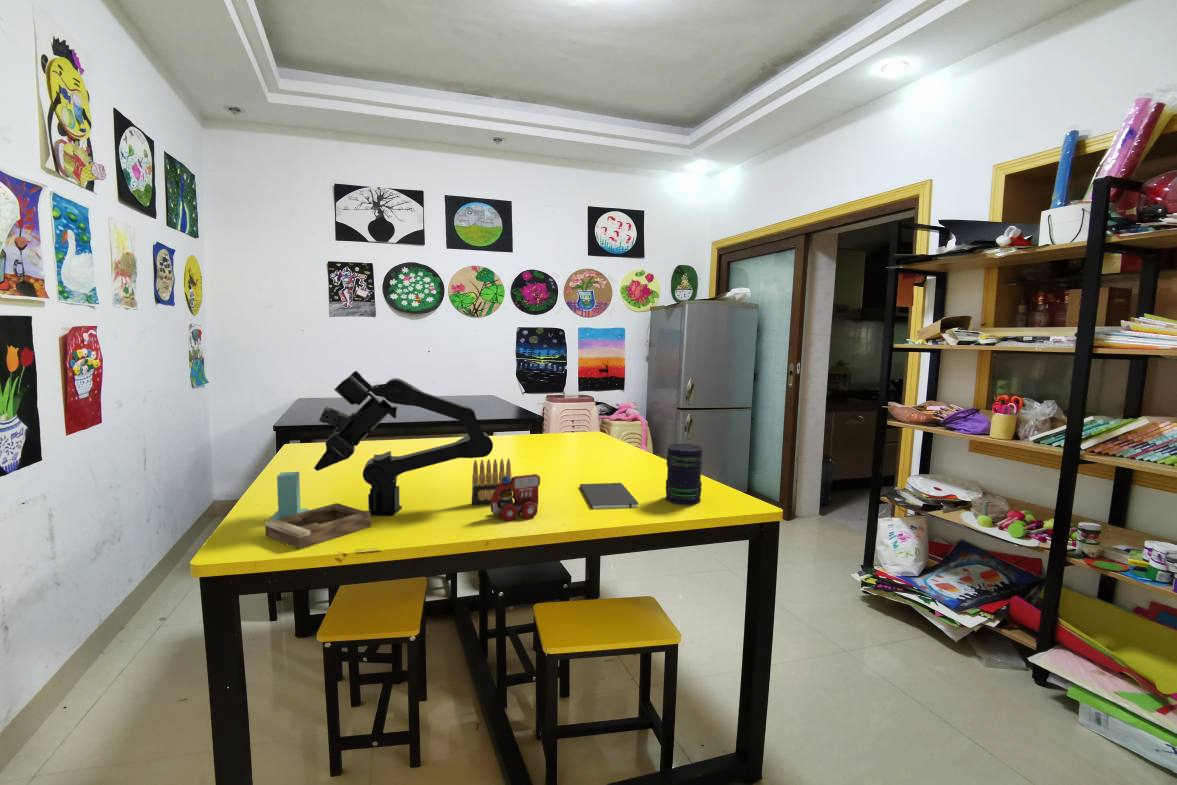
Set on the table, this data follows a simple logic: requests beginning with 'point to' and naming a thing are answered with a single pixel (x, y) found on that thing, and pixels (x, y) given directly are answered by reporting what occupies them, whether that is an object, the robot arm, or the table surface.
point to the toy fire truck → (516, 497)
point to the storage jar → (684, 474)
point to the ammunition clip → (487, 481)
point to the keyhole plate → (317, 525)
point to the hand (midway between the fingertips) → (318, 465)
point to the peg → (288, 495)
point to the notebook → (608, 496)
